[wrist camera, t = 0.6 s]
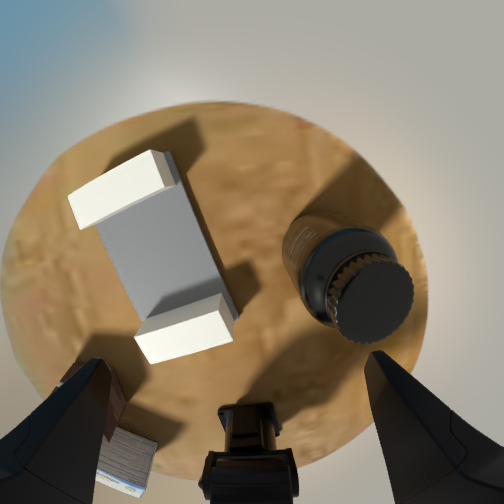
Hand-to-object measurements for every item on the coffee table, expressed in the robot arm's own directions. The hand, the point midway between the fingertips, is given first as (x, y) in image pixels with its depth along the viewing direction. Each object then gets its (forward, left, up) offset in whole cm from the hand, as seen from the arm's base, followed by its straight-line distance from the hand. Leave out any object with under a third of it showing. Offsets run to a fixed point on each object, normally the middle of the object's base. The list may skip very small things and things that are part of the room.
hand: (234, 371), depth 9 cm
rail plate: (+1, +7, -17) cm, 18 cm away
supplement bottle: (-1, -7, -17) cm, 18 cm away
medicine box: (-24, +21, -17) cm, 37 cm away
